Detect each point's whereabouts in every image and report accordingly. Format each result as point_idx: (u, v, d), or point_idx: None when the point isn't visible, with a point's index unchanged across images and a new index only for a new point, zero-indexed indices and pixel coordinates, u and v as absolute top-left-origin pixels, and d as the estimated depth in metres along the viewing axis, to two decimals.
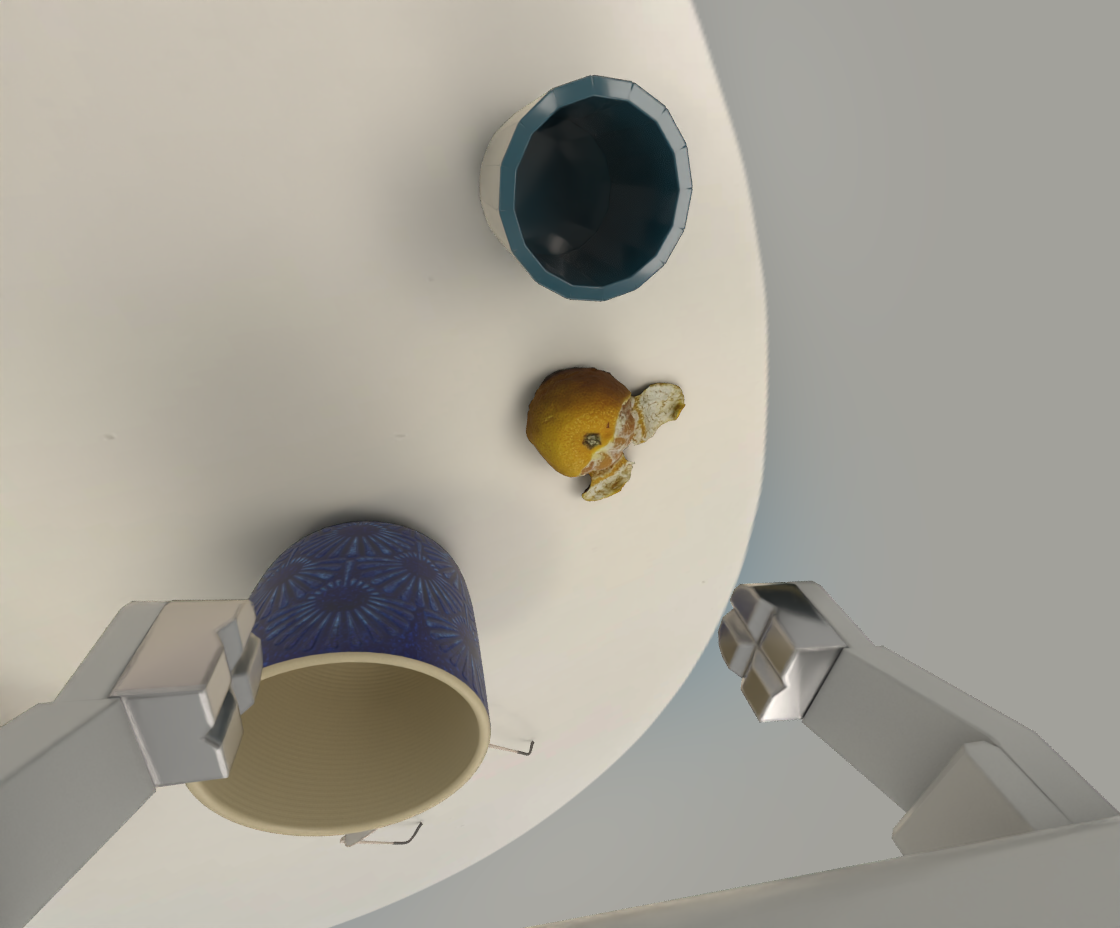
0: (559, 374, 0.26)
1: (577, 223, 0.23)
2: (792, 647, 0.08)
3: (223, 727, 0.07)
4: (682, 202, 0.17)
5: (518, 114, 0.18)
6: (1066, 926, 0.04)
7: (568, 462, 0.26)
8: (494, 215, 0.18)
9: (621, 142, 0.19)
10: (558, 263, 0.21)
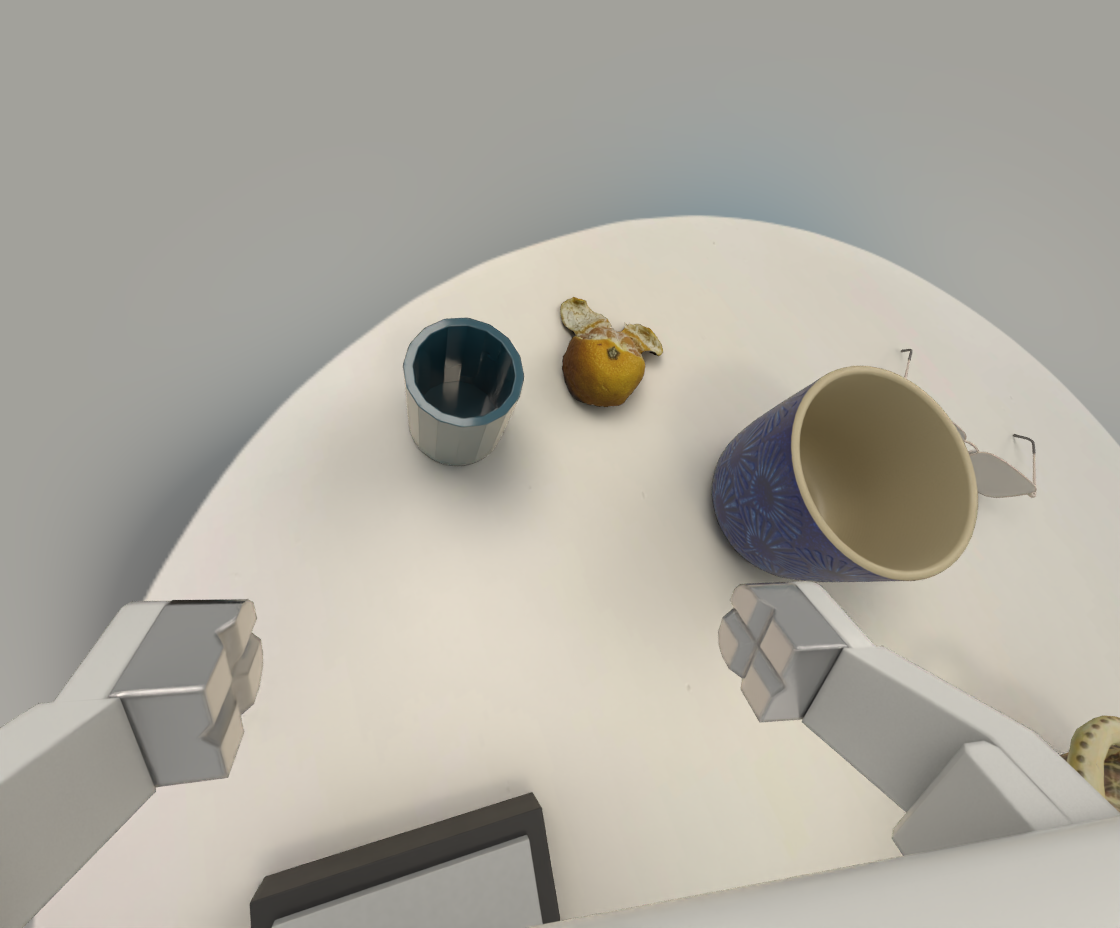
0: (572, 390, 0.37)
1: (472, 398, 0.35)
2: (793, 647, 0.08)
3: (223, 727, 0.07)
4: (454, 322, 0.28)
5: (427, 435, 0.30)
6: (1066, 926, 0.04)
7: (632, 366, 0.35)
8: (486, 435, 0.29)
9: (424, 374, 0.31)
10: (501, 400, 0.32)
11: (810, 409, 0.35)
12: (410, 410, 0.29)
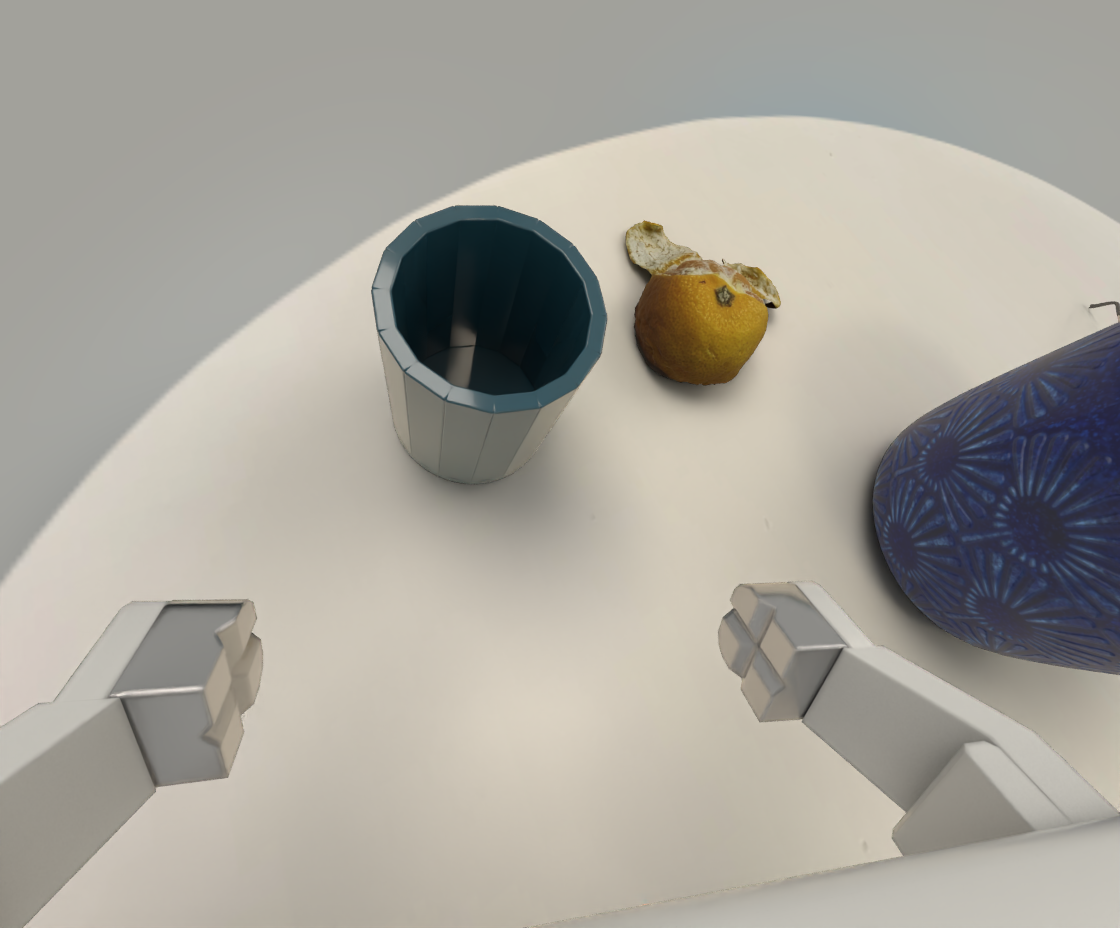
0: (653, 360, 0.23)
1: (496, 373, 0.21)
2: (793, 647, 0.08)
3: (223, 727, 0.07)
4: (471, 213, 0.14)
5: (423, 432, 0.16)
6: (1066, 926, 0.04)
7: (755, 317, 0.22)
8: (534, 430, 0.15)
9: (416, 326, 0.18)
10: (549, 371, 0.19)
11: None
12: (390, 386, 0.15)
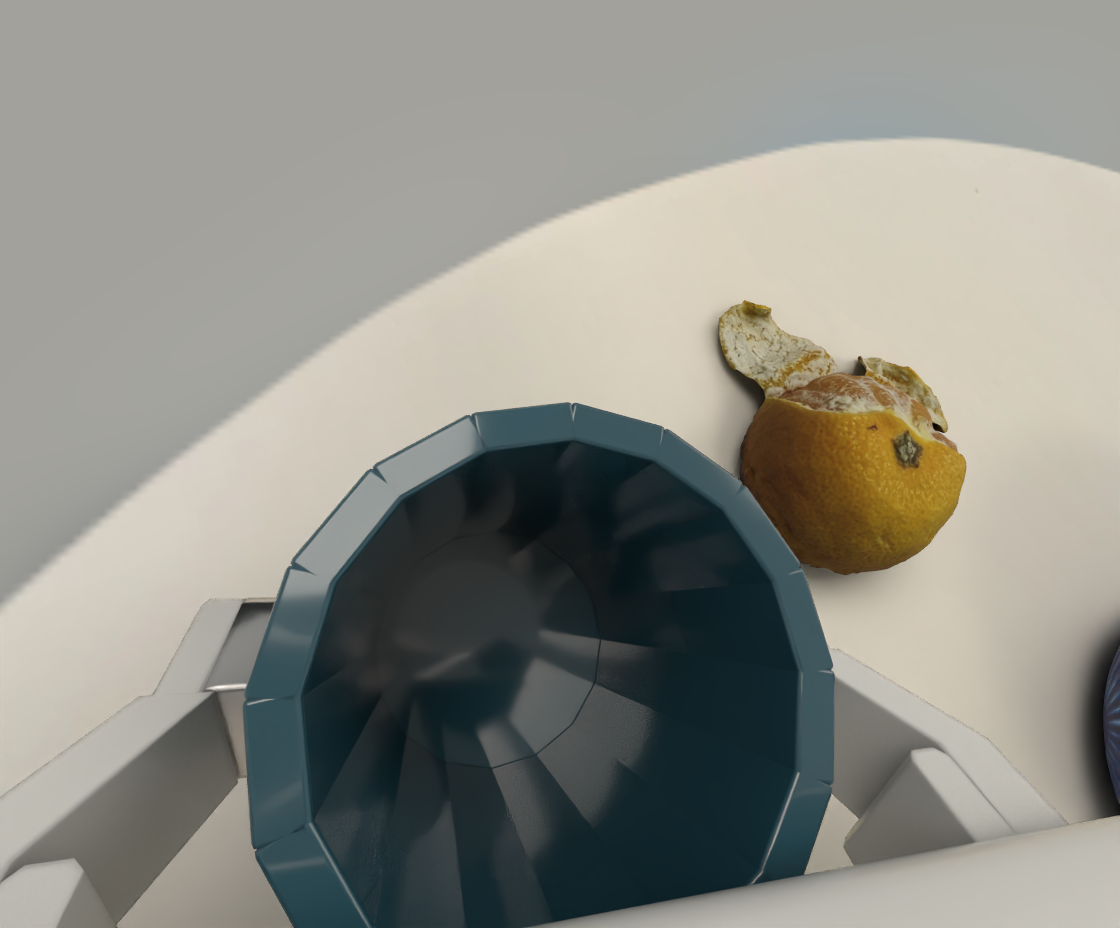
0: None
1: (532, 578, 0.13)
2: None
3: None
4: (512, 429, 0.06)
5: None
6: (1066, 926, 0.04)
7: (954, 482, 0.13)
8: None
9: (393, 572, 0.09)
10: (634, 619, 0.11)
11: None
12: None
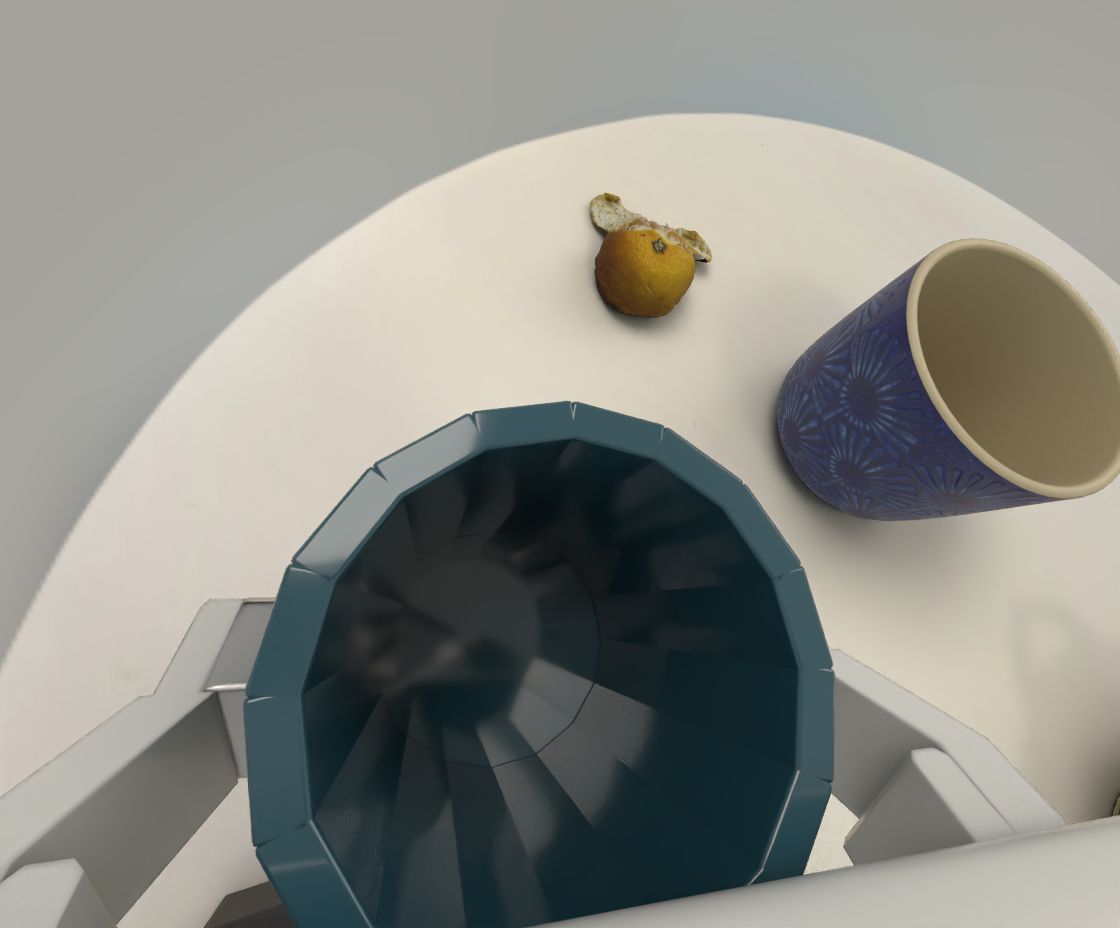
0: (608, 297, 0.30)
1: (532, 577, 0.13)
2: None
3: None
4: (512, 428, 0.06)
5: None
6: (1066, 926, 0.04)
7: (683, 263, 0.29)
8: None
9: (393, 571, 0.09)
10: (634, 619, 0.11)
11: None
12: None
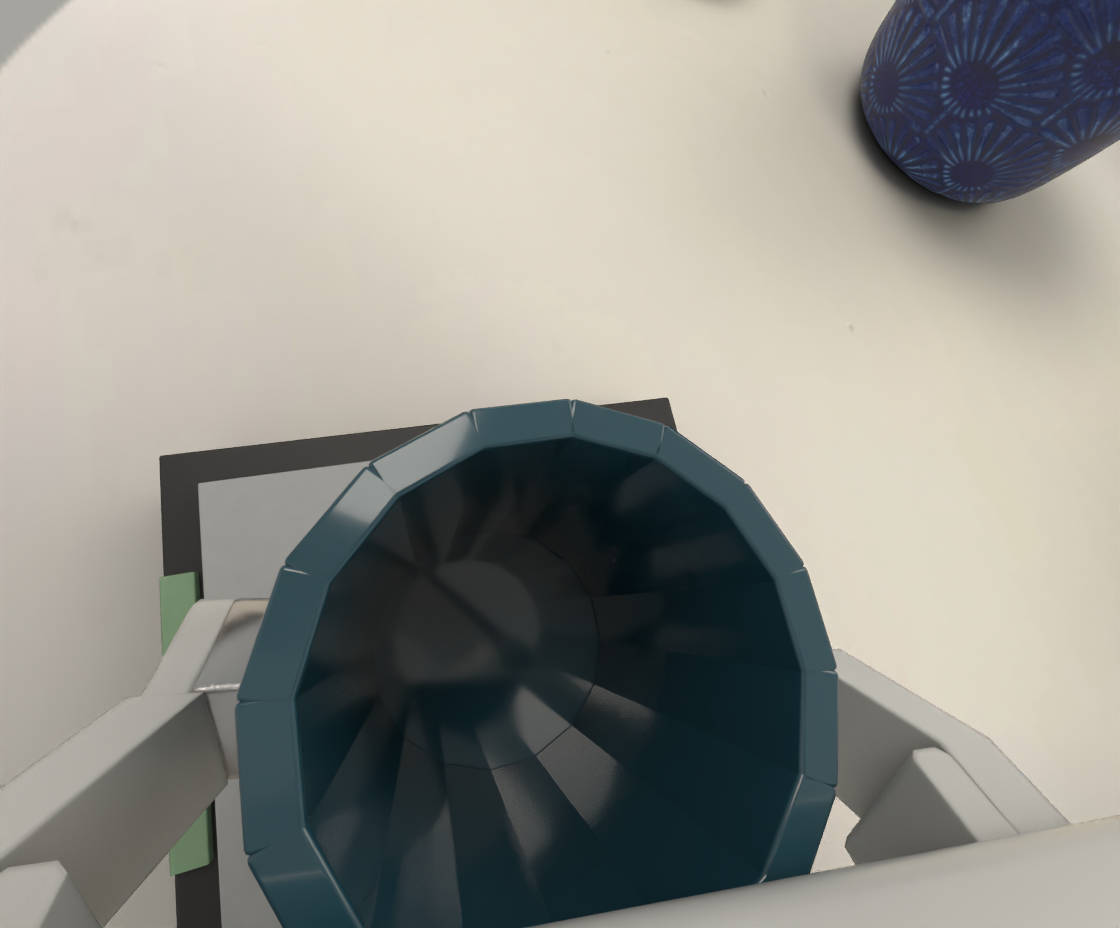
0: None
1: (531, 578, 0.13)
2: None
3: None
4: (511, 426, 0.06)
5: None
6: (1066, 926, 0.04)
7: None
8: None
9: (390, 572, 0.09)
10: (634, 620, 0.10)
11: None
12: None
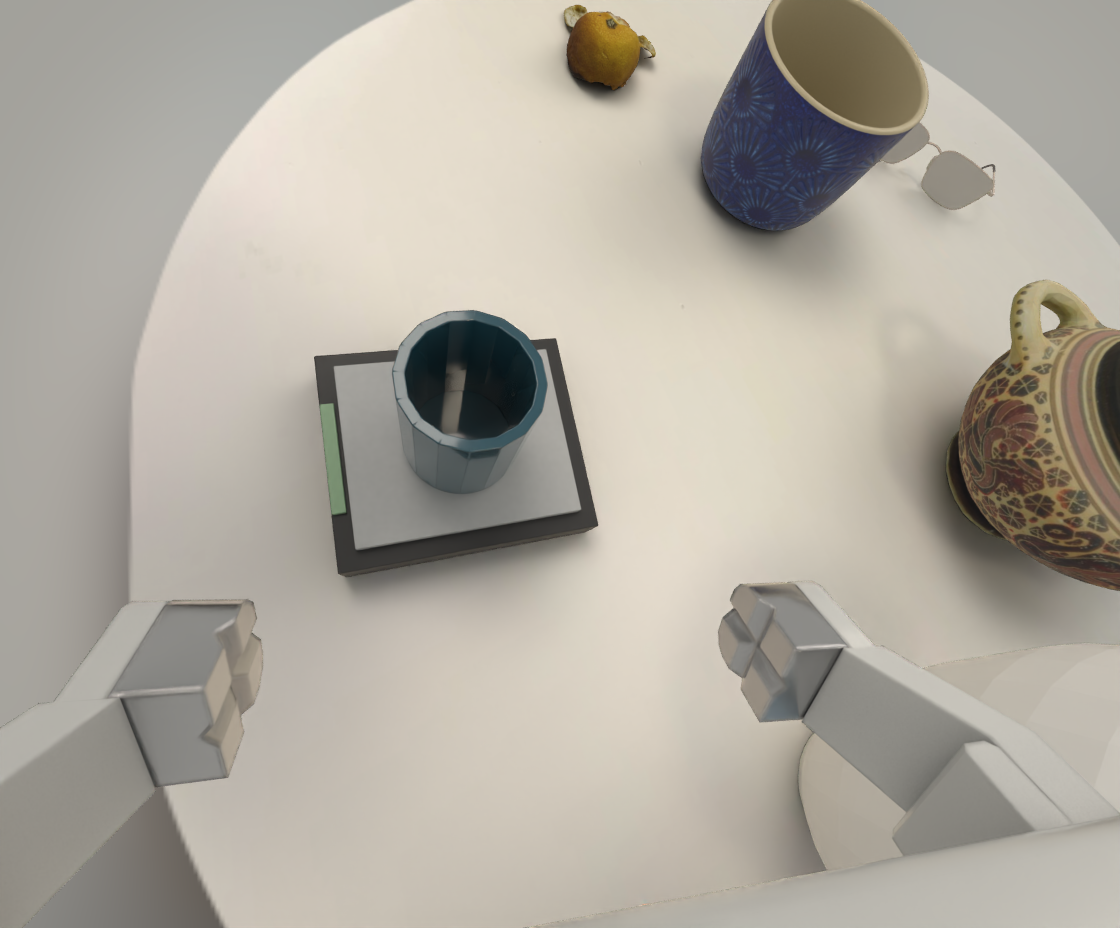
0: (576, 69, 0.41)
1: (479, 411, 0.29)
2: (793, 647, 0.08)
3: (223, 727, 0.07)
4: (457, 316, 0.22)
5: (424, 460, 0.23)
6: (1066, 926, 0.04)
7: (629, 36, 0.40)
8: (500, 459, 0.23)
9: (420, 383, 0.25)
10: (516, 413, 0.26)
11: None
12: (403, 429, 0.23)
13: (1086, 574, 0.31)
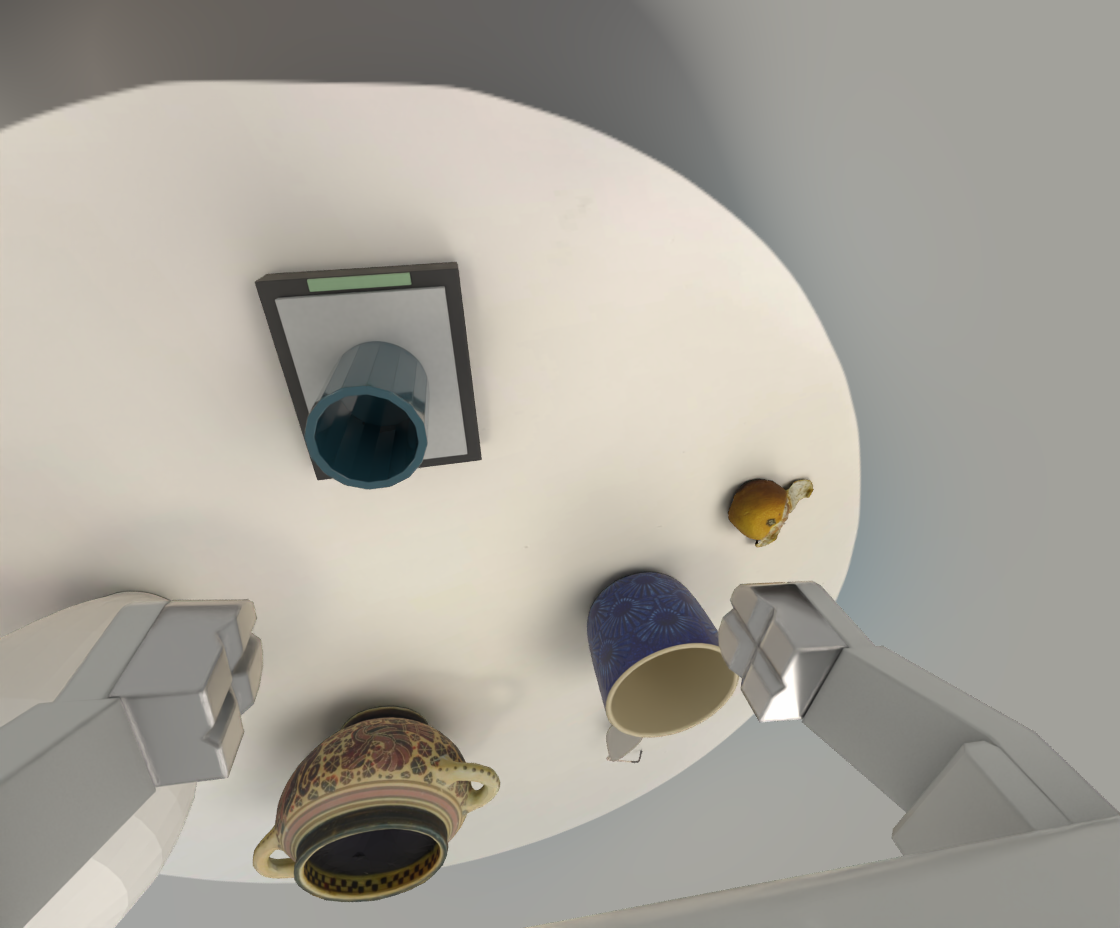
0: (746, 486, 0.49)
1: None
2: (793, 647, 0.08)
3: (223, 727, 0.07)
4: (420, 431, 0.28)
5: (327, 381, 0.30)
6: (1066, 926, 0.04)
7: (757, 534, 0.48)
8: None
9: None
10: (385, 442, 0.33)
11: None
12: (345, 372, 0.29)
13: (288, 783, 0.47)
